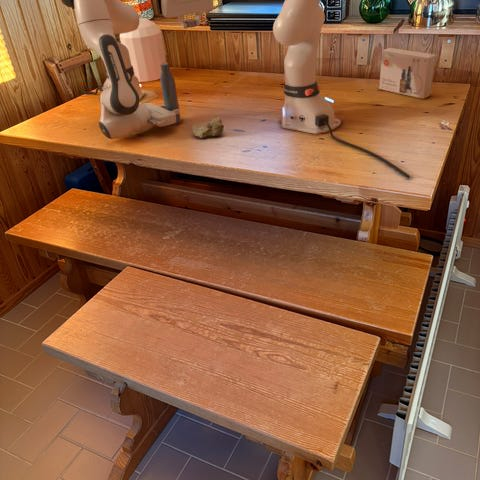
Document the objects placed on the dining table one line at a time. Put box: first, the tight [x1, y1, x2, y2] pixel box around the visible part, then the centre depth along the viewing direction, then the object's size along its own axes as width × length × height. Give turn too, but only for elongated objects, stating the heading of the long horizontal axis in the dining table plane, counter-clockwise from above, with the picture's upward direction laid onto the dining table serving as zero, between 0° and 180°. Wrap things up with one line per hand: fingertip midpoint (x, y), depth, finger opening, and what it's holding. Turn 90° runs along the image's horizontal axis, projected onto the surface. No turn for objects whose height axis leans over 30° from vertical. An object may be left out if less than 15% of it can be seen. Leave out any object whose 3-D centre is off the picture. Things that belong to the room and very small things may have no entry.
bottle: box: [159, 62, 182, 126], centre depth 177 cm, size 6×6×22 cm
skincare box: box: [378, 47, 437, 100], centre depth 184 cm, size 21×6×16 cm, turn 40°
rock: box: [192, 116, 225, 139], centre depth 168 cm, size 11×6×10 cm
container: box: [119, 17, 167, 83], centre depth 235 cm, size 21×21×28 cm
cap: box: [183, 18, 197, 29], centre depth 174 cm, size 4×4×2 cm
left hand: (174, 108), depth 181 cm, fingers closed on bottle, 5 cm apart
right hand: (190, 27), depth 175 cm, fingers closed on cap, 4 cm apart
